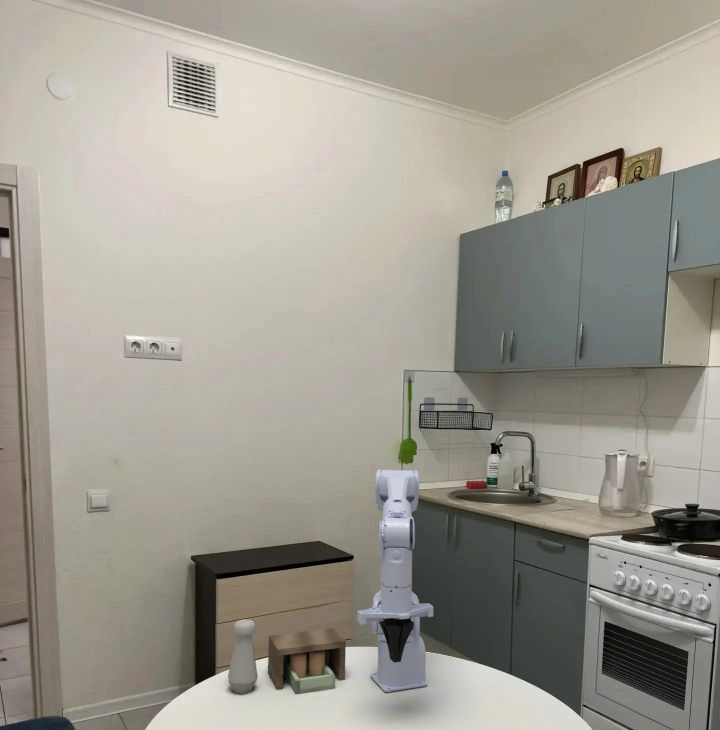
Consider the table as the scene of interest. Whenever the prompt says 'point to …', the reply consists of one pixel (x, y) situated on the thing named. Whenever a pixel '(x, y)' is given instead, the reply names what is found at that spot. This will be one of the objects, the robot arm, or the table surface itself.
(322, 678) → the tray
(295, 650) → the shelf
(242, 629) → the salt shaker
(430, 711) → the table surface
